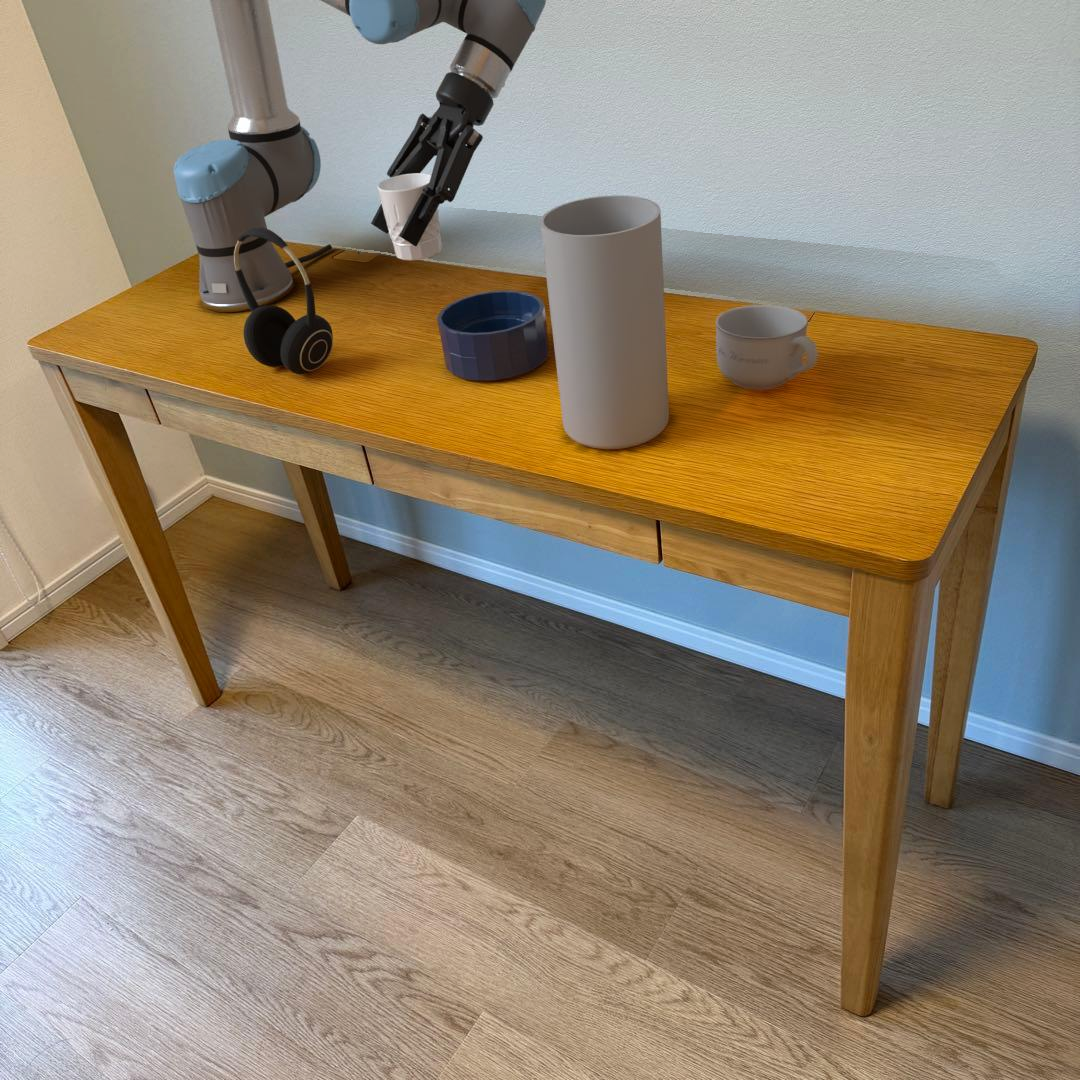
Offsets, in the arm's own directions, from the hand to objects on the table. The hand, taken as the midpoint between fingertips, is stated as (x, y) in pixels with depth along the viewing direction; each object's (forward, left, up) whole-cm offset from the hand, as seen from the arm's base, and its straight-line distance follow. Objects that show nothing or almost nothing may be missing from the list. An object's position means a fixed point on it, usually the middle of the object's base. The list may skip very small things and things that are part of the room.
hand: (393, 234), depth 140 cm
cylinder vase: (+31, +32, -14) cm, 47 cm away
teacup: (+22, +50, -14) cm, 57 cm away
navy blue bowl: (+12, +15, -14) cm, 24 cm away
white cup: (-2, +2, -4) cm, 5 cm away
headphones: (+11, -14, -14) cm, 23 cm away
